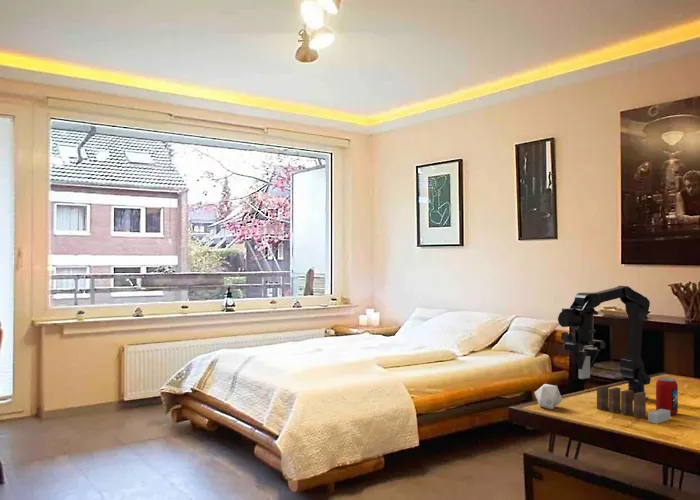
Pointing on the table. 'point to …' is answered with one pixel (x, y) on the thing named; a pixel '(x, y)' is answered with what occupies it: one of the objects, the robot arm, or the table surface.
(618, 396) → the tile
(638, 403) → the tile
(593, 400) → the table surface
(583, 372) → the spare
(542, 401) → the die
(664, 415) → the block
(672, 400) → the beverage can
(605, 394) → the tile
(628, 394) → the tile
